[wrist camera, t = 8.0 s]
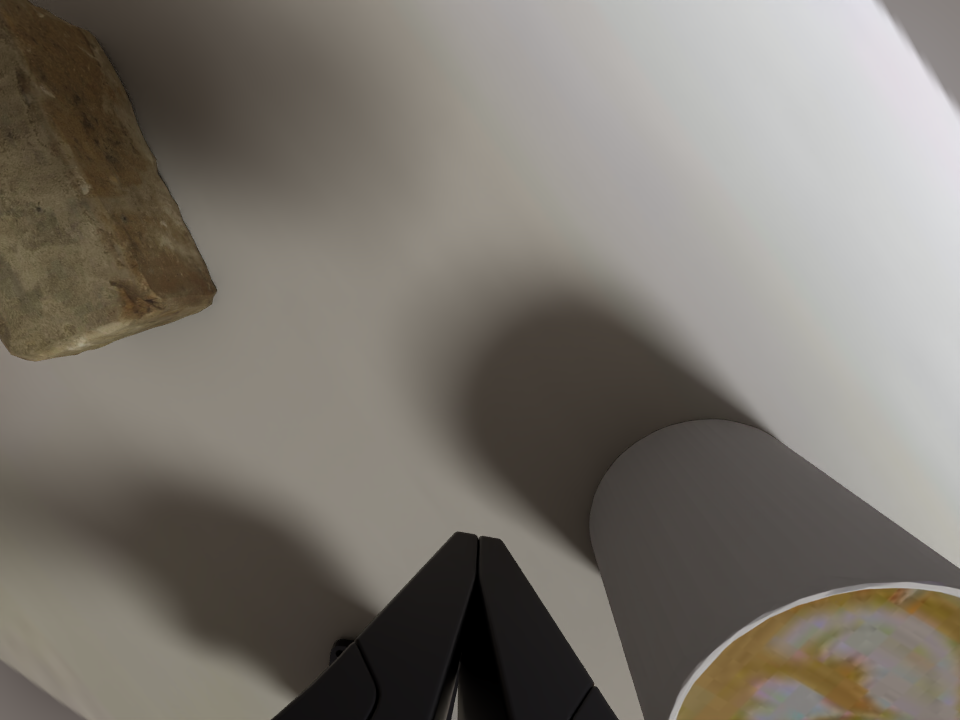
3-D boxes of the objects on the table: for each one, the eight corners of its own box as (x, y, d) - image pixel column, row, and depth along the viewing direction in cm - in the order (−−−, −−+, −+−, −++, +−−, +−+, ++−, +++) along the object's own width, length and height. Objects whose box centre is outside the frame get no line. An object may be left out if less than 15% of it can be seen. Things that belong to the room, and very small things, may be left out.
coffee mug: (544, 517, 22) (579, 738, 12) (718, 372, 20) (928, 496, 10) (727, 690, 24) (885, 1002, 14) (903, 574, 22) (1231, 843, 12)
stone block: (122, 348, 21) (6, 378, 16) (-25, 78, 18) (-214, 18, 14) (236, 302, 20) (151, 320, 15) (98, 16, 18) (-55, -71, 13)
